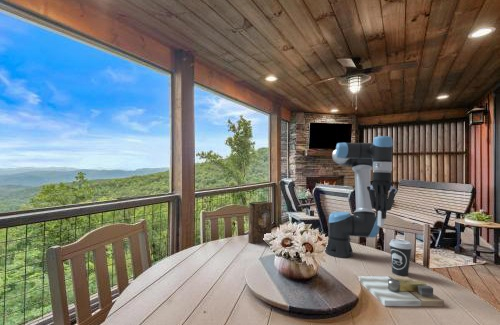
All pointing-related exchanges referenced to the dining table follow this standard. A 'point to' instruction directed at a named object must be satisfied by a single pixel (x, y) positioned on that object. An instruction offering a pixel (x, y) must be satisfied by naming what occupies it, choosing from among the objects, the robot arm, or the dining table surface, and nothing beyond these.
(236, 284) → the dining table surface
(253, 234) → the book
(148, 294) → the dining table surface
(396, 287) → the latch bar
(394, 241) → the coffee cup
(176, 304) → the dining table surface
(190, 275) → the dining table surface
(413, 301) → the door board
